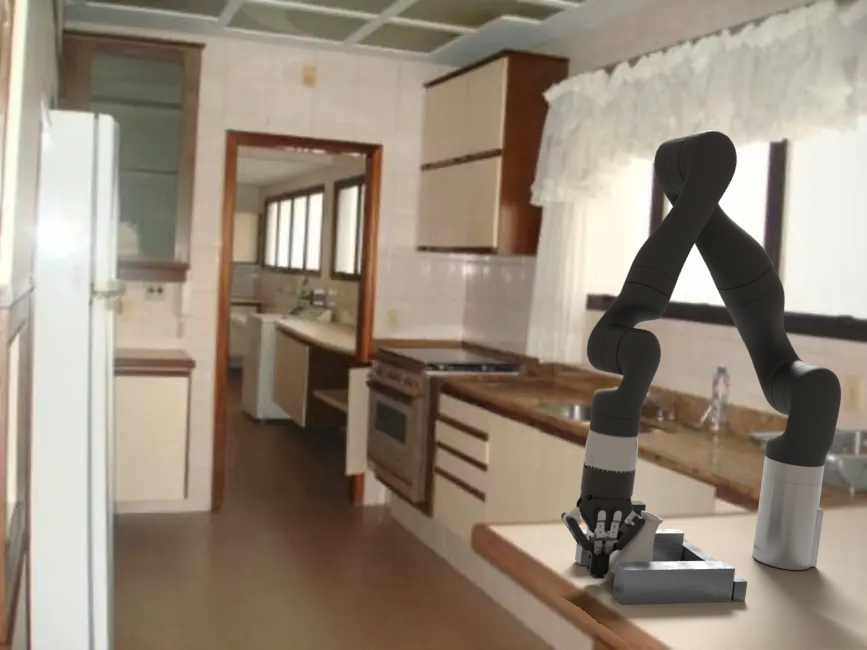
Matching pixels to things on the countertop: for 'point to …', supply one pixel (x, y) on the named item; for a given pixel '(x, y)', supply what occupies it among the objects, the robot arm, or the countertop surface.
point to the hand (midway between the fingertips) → (596, 576)
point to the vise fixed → (678, 580)
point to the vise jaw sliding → (664, 544)
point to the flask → (638, 543)
